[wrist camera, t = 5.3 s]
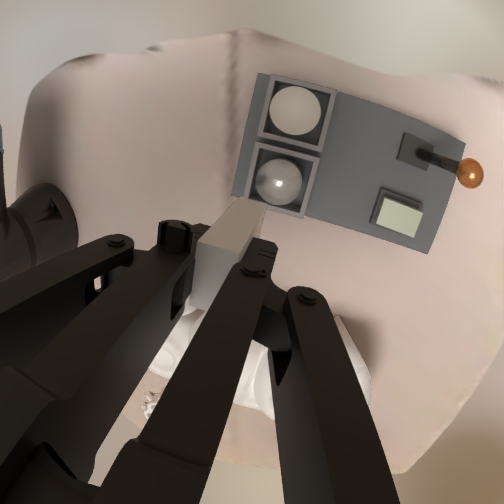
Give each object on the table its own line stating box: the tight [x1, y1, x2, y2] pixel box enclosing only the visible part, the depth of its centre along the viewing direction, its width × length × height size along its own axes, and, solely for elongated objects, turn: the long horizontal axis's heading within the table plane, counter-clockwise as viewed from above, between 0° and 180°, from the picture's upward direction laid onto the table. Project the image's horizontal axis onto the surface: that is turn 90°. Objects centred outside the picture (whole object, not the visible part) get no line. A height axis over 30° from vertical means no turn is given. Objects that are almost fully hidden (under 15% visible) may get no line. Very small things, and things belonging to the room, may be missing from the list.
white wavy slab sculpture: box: [148, 295, 372, 420], centre depth 39 cm, size 35×16×11 cm, turn 75°
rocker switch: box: [375, 196, 423, 238], centre depth 28 cm, size 4×3×1 cm, turn 78°
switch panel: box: [231, 73, 466, 254], centre depth 29 cm, size 24×14×6 cm, turn 78°
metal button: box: [256, 157, 303, 205], centre depth 29 cm, size 4×4×3 cm
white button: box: [270, 86, 321, 135], centre depth 24 cm, size 4×4×3 cm
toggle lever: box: [416, 148, 484, 189], centre depth 22 cm, size 3×3×9 cm
